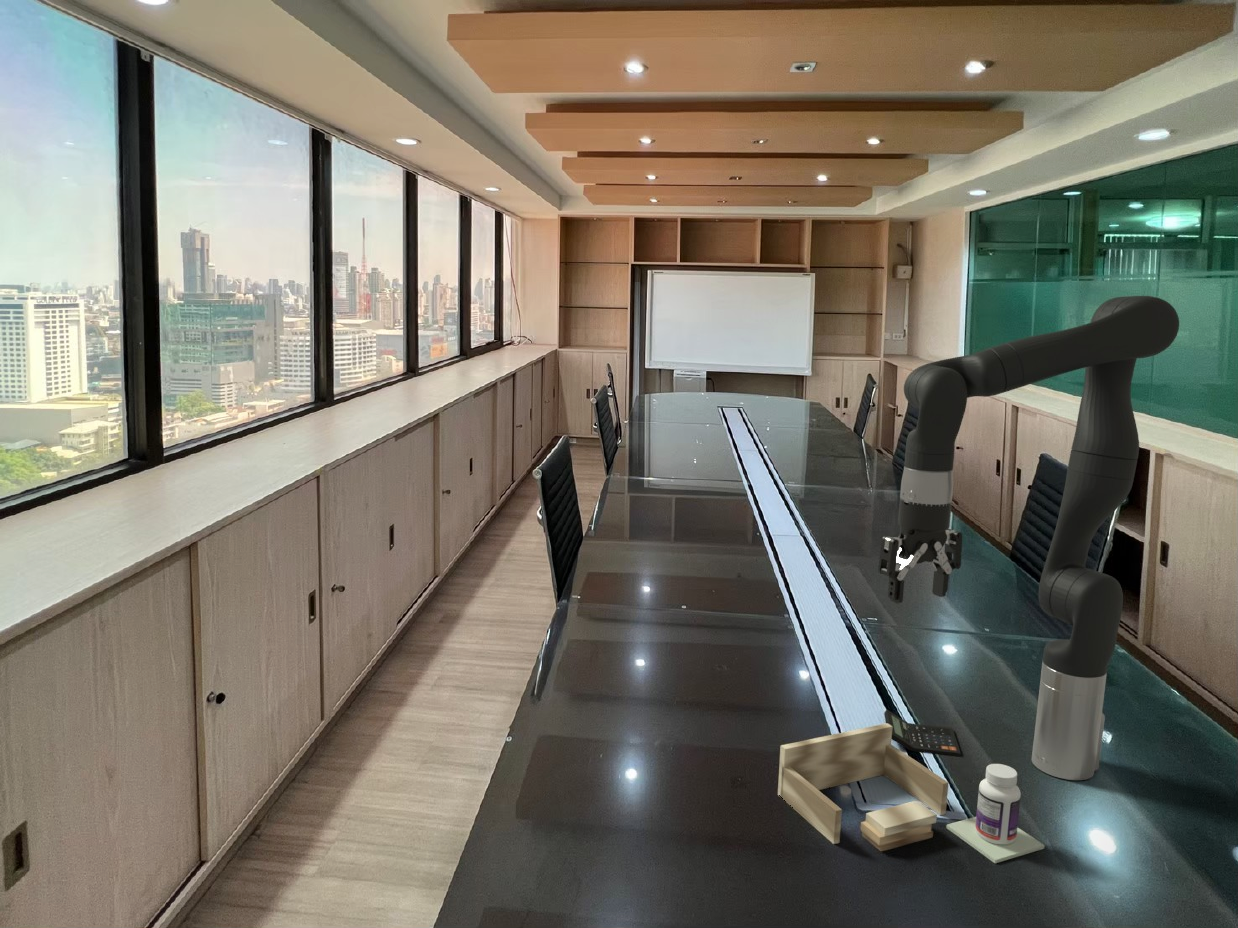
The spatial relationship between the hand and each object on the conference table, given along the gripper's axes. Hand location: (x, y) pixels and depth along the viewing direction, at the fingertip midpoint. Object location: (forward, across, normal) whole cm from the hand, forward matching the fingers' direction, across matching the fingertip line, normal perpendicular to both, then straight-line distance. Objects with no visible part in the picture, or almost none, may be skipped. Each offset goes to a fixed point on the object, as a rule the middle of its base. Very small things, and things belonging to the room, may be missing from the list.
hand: (917, 598), depth 144 cm
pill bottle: (+28, +2, +21) cm, 35 cm away
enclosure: (+28, +14, +7) cm, 32 cm away
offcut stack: (+28, +14, +16) cm, 35 cm away
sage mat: (+28, +2, +21) cm, 35 cm away
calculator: (+29, -9, -6) cm, 31 cm away
